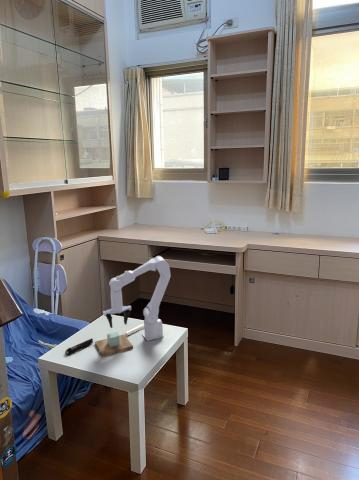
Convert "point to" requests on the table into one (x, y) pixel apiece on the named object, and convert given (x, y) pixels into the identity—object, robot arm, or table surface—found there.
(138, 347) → the table surface
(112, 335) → the mint green cube
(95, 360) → the table surface
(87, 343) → the electric trimmer
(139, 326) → the marker
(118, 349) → the stub board
